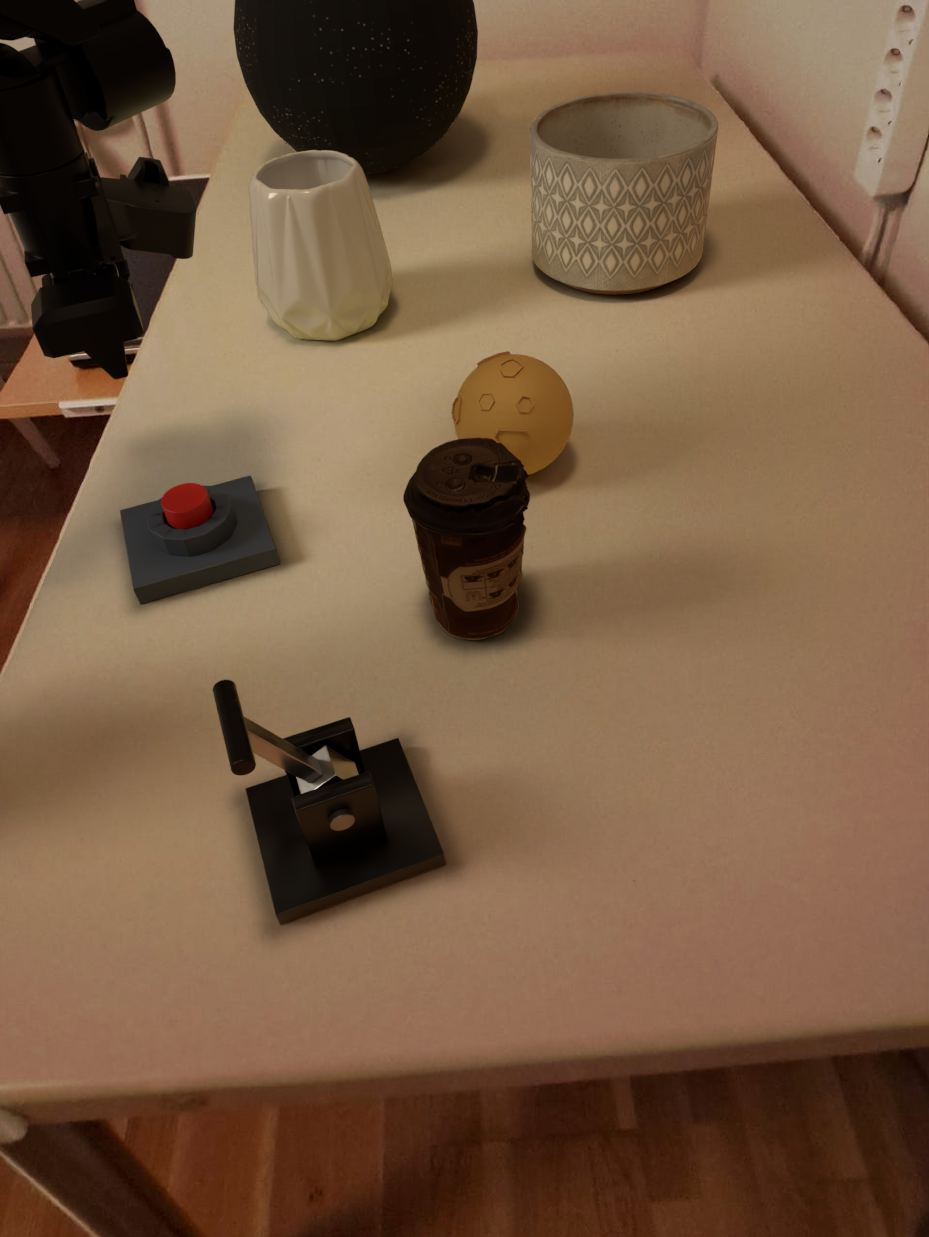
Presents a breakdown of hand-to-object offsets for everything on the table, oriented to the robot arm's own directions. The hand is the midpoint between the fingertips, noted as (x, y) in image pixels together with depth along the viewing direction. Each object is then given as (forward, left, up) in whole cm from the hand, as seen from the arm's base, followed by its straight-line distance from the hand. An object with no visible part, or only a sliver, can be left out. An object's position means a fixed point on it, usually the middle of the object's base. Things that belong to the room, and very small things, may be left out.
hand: (121, 375), depth 70 cm
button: (+2, -5, -10) cm, 11 cm away
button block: (+2, -5, -13) cm, 14 cm away
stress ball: (+29, -6, -13) cm, 32 cm away
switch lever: (+3, -35, -5) cm, 36 cm away
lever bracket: (+6, -35, -13) cm, 38 cm away
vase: (+21, +26, -13) cm, 36 cm away
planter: (+53, +23, -13) cm, 59 cm away
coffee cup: (+20, -21, -13) cm, 32 cm away
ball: (+36, +63, -13) cm, 74 cm away
